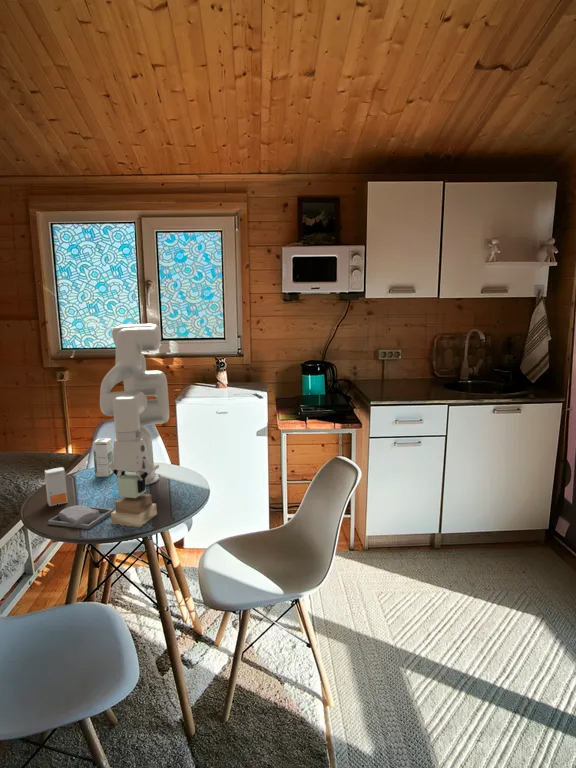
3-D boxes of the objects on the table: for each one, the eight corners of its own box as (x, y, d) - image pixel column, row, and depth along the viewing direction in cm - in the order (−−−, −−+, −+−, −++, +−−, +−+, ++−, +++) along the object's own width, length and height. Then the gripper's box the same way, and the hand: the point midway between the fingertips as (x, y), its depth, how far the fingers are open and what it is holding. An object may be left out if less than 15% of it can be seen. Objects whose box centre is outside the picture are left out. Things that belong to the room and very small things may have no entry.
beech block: (130, 512, 169) (129, 500, 168) (157, 515, 166) (156, 503, 165) (111, 525, 159) (110, 513, 159) (139, 528, 156) (138, 516, 156)
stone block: (85, 517, 171) (55, 522, 164) (86, 503, 172) (56, 507, 164) (104, 525, 164) (74, 530, 156) (105, 510, 164) (75, 515, 156)
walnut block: (130, 502, 167) (129, 492, 166) (152, 504, 164) (151, 494, 164) (115, 512, 159) (114, 501, 159) (138, 514, 157) (137, 504, 156)
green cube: (130, 489, 165) (128, 471, 164) (146, 491, 163) (144, 473, 162) (118, 496, 160) (117, 478, 159) (135, 498, 158) (134, 479, 157)
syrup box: (100, 472, 208) (97, 438, 206) (114, 472, 208) (111, 437, 206) (95, 477, 203) (91, 442, 200) (109, 476, 202) (106, 441, 200)
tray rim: (75, 508, 172) (75, 505, 172) (113, 512, 168) (113, 509, 168) (48, 524, 160) (48, 520, 160) (88, 529, 156) (88, 525, 156)
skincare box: (49, 507, 174) (45, 473, 172) (47, 503, 177) (43, 470, 175) (68, 502, 177) (65, 469, 175) (66, 499, 181) (62, 466, 179)
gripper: (159, 433, 159) (162, 488, 163) (111, 430, 164) (116, 484, 167) (145, 440, 152) (150, 497, 155) (96, 437, 157) (102, 492, 160)
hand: (132, 489), depth 161 cm, fingers closed on green cube, 5 cm apart
